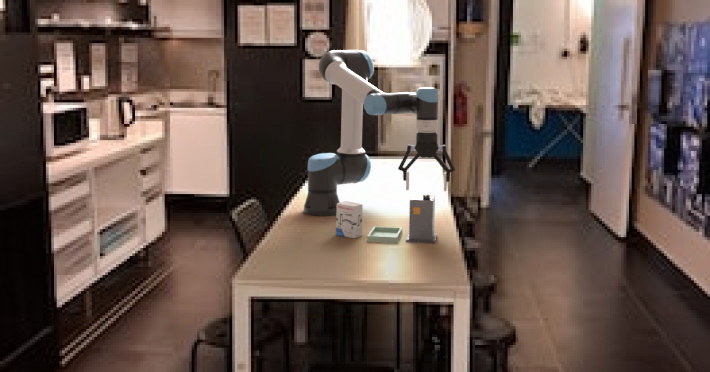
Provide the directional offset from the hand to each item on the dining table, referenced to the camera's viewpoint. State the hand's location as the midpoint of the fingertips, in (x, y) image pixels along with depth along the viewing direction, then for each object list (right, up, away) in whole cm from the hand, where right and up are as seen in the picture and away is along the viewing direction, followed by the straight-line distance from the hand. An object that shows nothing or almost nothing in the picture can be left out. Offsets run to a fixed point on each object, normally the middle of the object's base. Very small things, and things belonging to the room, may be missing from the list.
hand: (426, 190), depth 283 cm
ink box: (-28, -16, -3) cm, 32 cm away
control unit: (-2, -17, -7) cm, 19 cm away
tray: (-15, -17, -5) cm, 23 cm away
